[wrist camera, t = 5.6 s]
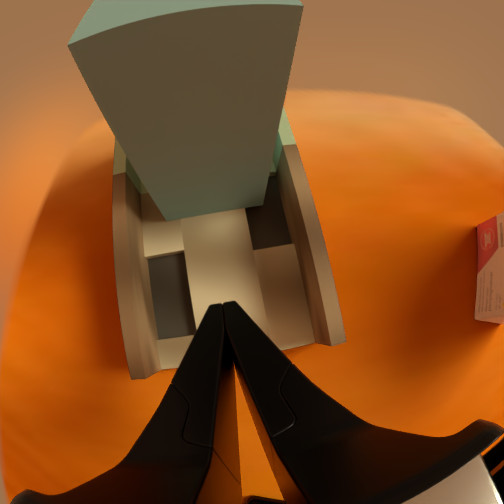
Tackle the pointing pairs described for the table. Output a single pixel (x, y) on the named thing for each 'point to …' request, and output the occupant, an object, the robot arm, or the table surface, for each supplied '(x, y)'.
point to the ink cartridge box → (490, 271)
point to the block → (192, 93)
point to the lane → (222, 269)
